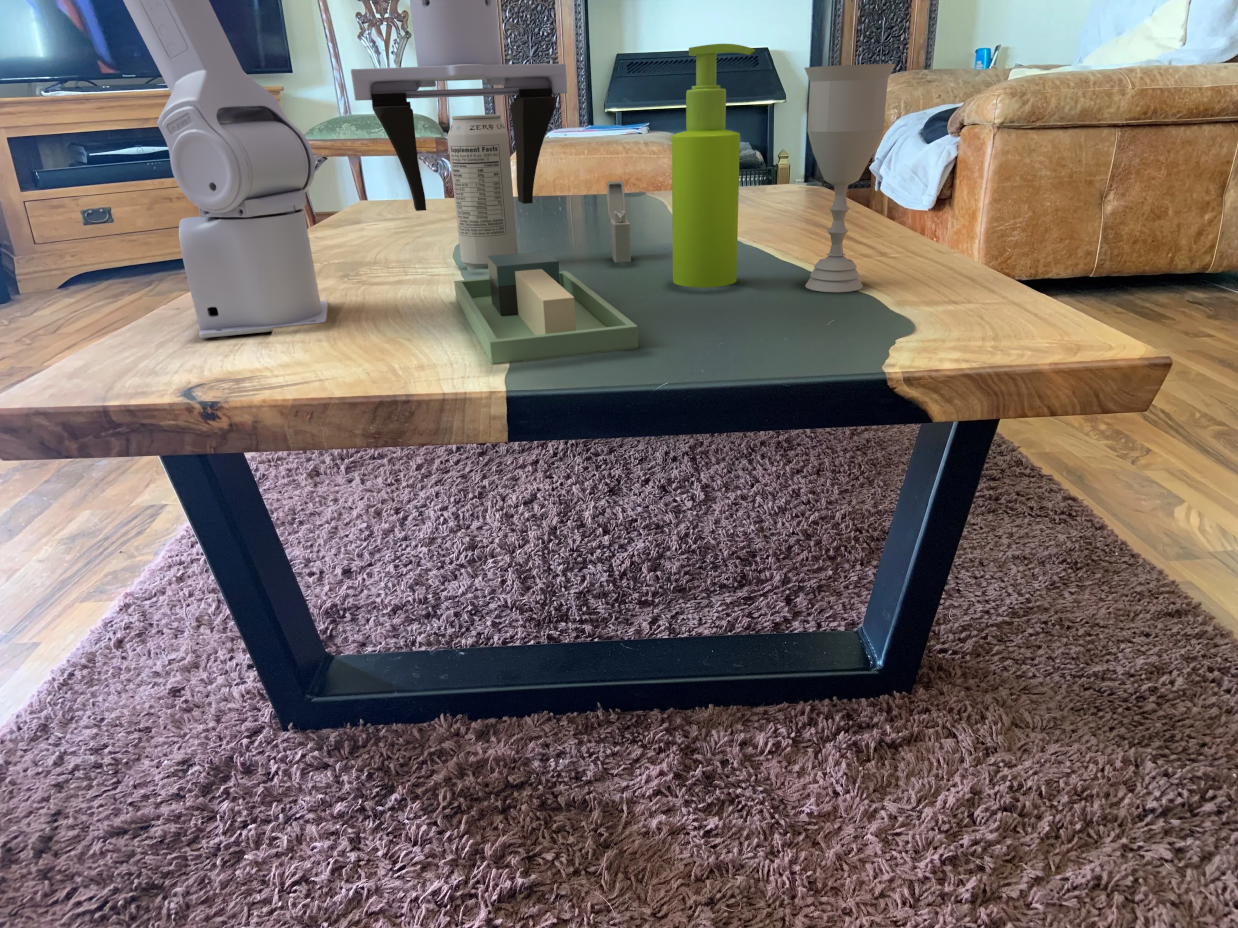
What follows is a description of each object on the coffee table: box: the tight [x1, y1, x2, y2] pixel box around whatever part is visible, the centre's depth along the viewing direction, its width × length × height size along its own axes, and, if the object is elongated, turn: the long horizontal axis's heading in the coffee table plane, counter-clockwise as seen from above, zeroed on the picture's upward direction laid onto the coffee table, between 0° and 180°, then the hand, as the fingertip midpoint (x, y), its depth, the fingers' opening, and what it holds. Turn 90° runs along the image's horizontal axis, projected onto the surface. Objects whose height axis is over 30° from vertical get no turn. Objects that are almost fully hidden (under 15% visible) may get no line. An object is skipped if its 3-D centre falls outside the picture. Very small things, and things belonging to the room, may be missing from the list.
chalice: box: [803, 63, 897, 293], centre depth 72 cm, size 7×7×18 cm
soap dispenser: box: [671, 43, 756, 288], centre depth 73 cm, size 6×7×20 cm
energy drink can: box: [447, 114, 519, 271], centre depth 86 cm, size 6×6×15 cm
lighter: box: [606, 180, 632, 263], centre depth 89 cm, size 7×2×8 cm, turn 6°
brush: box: [487, 250, 576, 335], centre depth 64 cm, size 16×5×4 cm, turn 16°
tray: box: [453, 270, 639, 366], centre depth 65 cm, size 21×10×2 cm, turn 17°
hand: (473, 205), depth 61 cm, fingers open, 7 cm apart
